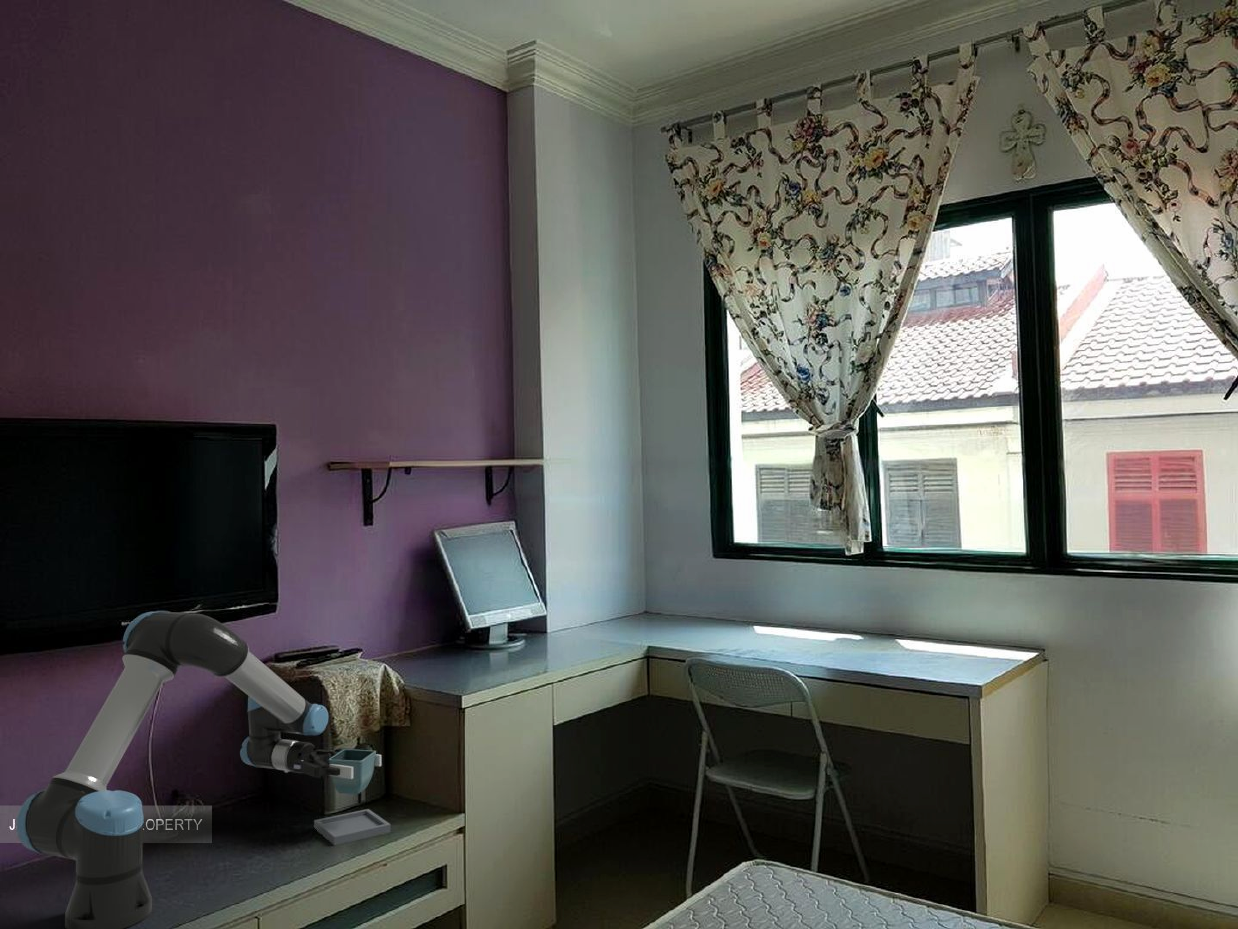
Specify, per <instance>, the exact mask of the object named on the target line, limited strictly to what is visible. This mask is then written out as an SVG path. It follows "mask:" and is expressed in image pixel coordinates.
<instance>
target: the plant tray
mask: <svg viewBox="0 0 1238 929" xmlns="http://www.w3.org/2000/svg"><path fill="white" fill-rule="evenodd" d="M391 825H392V824H391V823H389V822H388V821H386V820H385V819H383V818H382V817H381V816H380V815H378V814H376V813H375V812H373V811H372V810H371V809H369V808H367V809H362V810H355V811H352V812H347V813H343V814H338V815H335V816H329V817H324V818H319V819H315V820H313V829H314V828H315V829H316V830H317V832H318V833H319V834H320V835H321V834H322V835H323V836H322V835H321V836H322V837H324V838H325V839H326V840H327V841H328V840H329V841H328V842H329V843H331V844H332V845H333V846H338V845H343V844H348V843H351V842H352V843H353V842H355V841H360V840H364V839H369V838H374V837H378V836H382V835H386V834H390V833H391V830H392V828H391V827H392V826H391ZM315 829H314V830H315ZM316 830H315V831H316Z"/></svg>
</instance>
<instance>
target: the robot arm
mask: <svg viewBox="0 0 1238 929" xmlns="http://www.w3.org/2000/svg"><path fill="white" fill-rule="evenodd" d="M123 634H124V635H123V637H122V641H123V643H124V644H122V648H123V652H124V654H123V656H122V658H121V659H122V663H123V665H124V669H123V670H122V672H121V674H120V675H119V677H118V679H117V681H116V682H115V685H114V687H113V688H112V689H111V690H110V693H109V695H108V696H107V698H106V700H105V701H104V704H102V705H103V706H102V707H101V709H100V710H99V711H98V714H97V715H96V717H95V719H94V721H93V722H92V724H91V726H90V727H89V730H88V731H87V733H86V734H85V737H84V738H83V740H82V741H81V743H80V745H79V747H78V749H77V750H76V752H75V754H74V755H73V757H72V759H71V761H70V762H69V764H68V766H67V767H66V769H65V771H64V772H60V773H59V774H56V775H54V776H52V778H51V779H50V781H49V783H48V784H47V787H46V788H45V789H44V790H39V791H37V792H36V793H35V794H34V793H33V794H32V795H31V796H29V797H28V798H27V799H26V800H25V801H24V802H23V804H22V806H21V807H20V809H19V810H18V811H19V812H18V814H17V818H16V825H15V826H16V827H15V829H16V832H17V838H18V840H19V842H20V843H21V845H23V846H24V847H25V848H26V849H28V850H30V851H33V852H36V853H38V854H40V855H44V856H54V857H59V858H62V859H63V858H65V859H68V860H69V859H70V860H73V861H75V884H74V888H73V890H72V893H71V895H70V899H69V902H68V904H67V907H66V910H65V914H64V927H65V929H126V928H128V927H129V928H130V927H131V926H134V925H136V924H138V923H140V922H142V921H143V920H144V919H146V918H147V917H148V916H149V915H150V914H151V912H152V911H153V910H152V909H153V907H152V906H153V897H152V894H151V892H150V890H149V886H148V884H147V881H146V879H145V876H144V872H143V848H144V847H143V846H144V820H145V819H144V818H145V817H144V813H143V802H142V800H141V799H140V798H139V796H137V795H136V794H134V793H132V792H130V791H129V792H128V791H126V790H125V791H124V790H117V789H116V790H114V791H113V790H110V789H109V790H107V786H108V784H109V782H110V781H111V779H112V776H113V775H114V773H115V771H116V770H117V767H118V765H119V763H120V762H121V761H122V758H123V757H124V754H125V753H126V751H127V749H128V747H130V743H131V742H132V740H133V738H134V736H135V734H136V733H137V731H138V729H139V727H140V725H141V724H142V722H143V720H144V718H145V717H146V714H147V712H148V711H149V709H150V707H151V705H152V703H153V702H154V700H155V698H156V695H157V694H158V692H159V690H161V687H162V685H163V684H164V683H167V682H168V681H172V680H173V679H174V678H175V676H176V674H177V672H178V671H179V668H180V667H181V666H182V667H194V668H199V669H203V670H205V671H208V672H210V673H211V674H213V675H214V676H215V677H217V678H225V679H227V680H228V681H229V682H230V683H231V684H233V685H234V686H235V687H237V688H238V689H240V690H241V691H242V692H244V693H245V694H246V695H247V697H248V698H247V716H248V717H247V718H248V731H249V732H248V733H249V736H247V737H246V738H245V739H244V741H243V742H242V744H241V749H240V751H239V755H240V758H241V761H242V762H243V763H245V764H246V765H249V766H253V767H255V768H264V769H271V770H272V769H273V770H279V771H283V772H284V773H286V774H287V773H289V772H291V773H295V774H296V773H297V774H304V775H308V776H310V777H314V778H316V779H321V778H323V780H328V779H329V777H331V776H334V777H341V778H348V779H353V767H351V766H344V765H337V764H330V767H329V759H330V758H329V754H331V757H333V756H334V755H336V754H337V753H339V752H340V751H342V750H343V749H346V748H341V747H340V748H338V749H336V750H335V751H334V750H328V749H326V750H325V749H317V748H316V746H315V745H314V744H313V743H312V742H307V741H301V740H300V741H298V740H294V739H283V738H281V732H282V733H289V734H297V735H304V736H318V735H320V734H322V733H323V732H324V731H325V730H326V729H327V728H326V727H327V725H328V723H329V711H328V710H327V708H326V706H324V705H322V704H318V703H310V702H309V701H308V700H306V699H305V698H304V697H303V696H302V695H300V693H298V692H297V691H296V690H295V689H294V688H292V687H291V686H290V685H289V684H288V683H287V682H285V681H284V679H282V678H281V677H280V676H278V675H277V674H276V673H275V672H274V671H273V670H272V669H270V667H268V666H267V665H266V664H264V663H263V662H262V661H261V660H260V659H258V658H257V657H256V656H255V654H253V653H252V652H250V648H249V645H248V644H249V643H247V642H246V641H245V640H244V639H242V638H241V636H239V635H238V634H237V633H236V632H234V630H232V629H230V628H229V627H227V626H226V625H225V624H223V623H222V622H220V621H218V620H216V619H215V618H213V617H210V616H208V615H204V614H201V613H194V612H193V613H189V612H187V613H186V612H173V611H172V612H171V611H168V610H156V611H148V612H144V613H142V614H140V615H138V616H137V617H136V618H134V619H133V620H132V621H131V622H130V624H129V625H127V627H126V629H125V632H124V633H123ZM350 749H351V750H365V749H364V748H361V747H360V748H350ZM374 767H382V754H378V753H377V754H376V756H375V765H374ZM322 776H323V777H322Z"/></svg>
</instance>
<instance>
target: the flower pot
mask: <svg viewBox="0 0 1238 929" xmlns="http://www.w3.org/2000/svg"><path fill="white" fill-rule="evenodd" d="M351 749H352V748H345V749H343V750H342V751H340V752H339V753H337V754H336V755H334V756H333V757H331V758H329V765H328V767H330V764H337V765H344V766H351V767H353V779H348V778H341V777H334V776H330V779H331V782H332V785H333V786H334V788H335V790H336V791H337V792H338V794H347V795H359V794H360V793H361V792H363V791H364V790H366V788H367V787H368V785H369V784H370V782H371V780H372V777H373V774H374V771H375V766H374V765H375V756H376V753H377V750H370V749H369V750H366V749H364V750H351Z"/></svg>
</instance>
